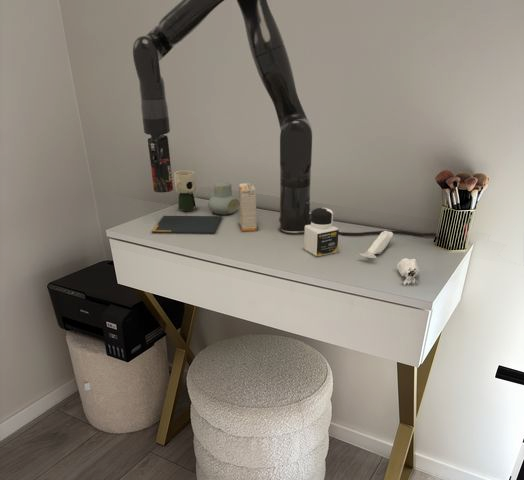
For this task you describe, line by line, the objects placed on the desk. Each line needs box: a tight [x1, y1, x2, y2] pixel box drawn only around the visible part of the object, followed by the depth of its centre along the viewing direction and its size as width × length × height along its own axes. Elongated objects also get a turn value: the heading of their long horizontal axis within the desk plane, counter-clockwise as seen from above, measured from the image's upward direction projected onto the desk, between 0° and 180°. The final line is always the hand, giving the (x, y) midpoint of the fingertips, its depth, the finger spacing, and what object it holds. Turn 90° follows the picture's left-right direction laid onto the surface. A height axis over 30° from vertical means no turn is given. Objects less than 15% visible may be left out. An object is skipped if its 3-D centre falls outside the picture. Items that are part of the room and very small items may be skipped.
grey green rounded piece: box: [207, 180, 240, 216], centre depth 183 cm, size 11×8×10 cm
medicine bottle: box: [303, 207, 340, 257], centre depth 151 cm, size 7×7×12 cm
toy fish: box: [357, 230, 394, 259], centre depth 151 cm, size 6×18×4 cm, turn 150°
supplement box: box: [238, 182, 258, 232], centre depth 169 cm, size 8×5×13 cm, turn 8°
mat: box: [151, 215, 223, 235], centre depth 175 cm, size 20×16×1 cm
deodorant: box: [147, 136, 174, 194], centre depth 161 cm, size 6×6×15 cm
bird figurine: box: [396, 257, 420, 286], centre depth 136 cm, size 5×7×10 cm
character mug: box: [173, 169, 197, 212], centre depth 185 cm, size 11×7×13 cm, turn 155°
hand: (161, 174), depth 163 cm, fingers closed on deodorant, 6 cm apart
